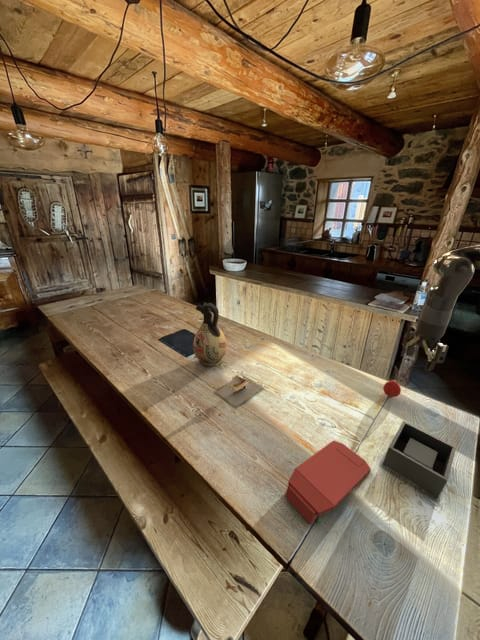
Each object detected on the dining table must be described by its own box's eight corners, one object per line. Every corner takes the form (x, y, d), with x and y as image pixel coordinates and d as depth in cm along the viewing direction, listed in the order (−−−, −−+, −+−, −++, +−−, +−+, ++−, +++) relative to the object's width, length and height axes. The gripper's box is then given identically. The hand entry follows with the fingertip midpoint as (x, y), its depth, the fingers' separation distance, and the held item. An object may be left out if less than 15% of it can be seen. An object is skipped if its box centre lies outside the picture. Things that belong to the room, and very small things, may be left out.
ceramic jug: (187, 361, 124) (181, 301, 110) (211, 348, 134) (209, 292, 121) (211, 376, 113) (209, 313, 100) (236, 361, 124) (236, 301, 111)
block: (405, 448, 82) (410, 437, 79) (432, 463, 77) (437, 452, 75) (398, 463, 77) (403, 452, 75) (426, 480, 73) (432, 468, 71)
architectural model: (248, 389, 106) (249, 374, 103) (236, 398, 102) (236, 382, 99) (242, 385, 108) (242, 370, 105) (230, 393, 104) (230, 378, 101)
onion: (383, 400, 102) (388, 383, 98) (379, 390, 107) (384, 374, 103) (399, 402, 101) (405, 386, 97) (395, 392, 106) (401, 376, 102)
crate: (396, 438, 86) (403, 420, 83) (446, 465, 78) (456, 447, 74) (381, 465, 77) (388, 447, 74) (436, 500, 69) (447, 481, 66)
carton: (332, 450, 86) (279, 490, 70) (335, 438, 84) (282, 477, 69) (367, 479, 77) (317, 532, 62) (373, 466, 76) (322, 518, 60)
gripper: (464, 329, 77) (445, 374, 84) (427, 309, 89) (412, 350, 97) (441, 330, 76) (423, 376, 83) (407, 310, 89) (394, 351, 96)
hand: (417, 362), depth 90 cm, fingers open, 8 cm apart
